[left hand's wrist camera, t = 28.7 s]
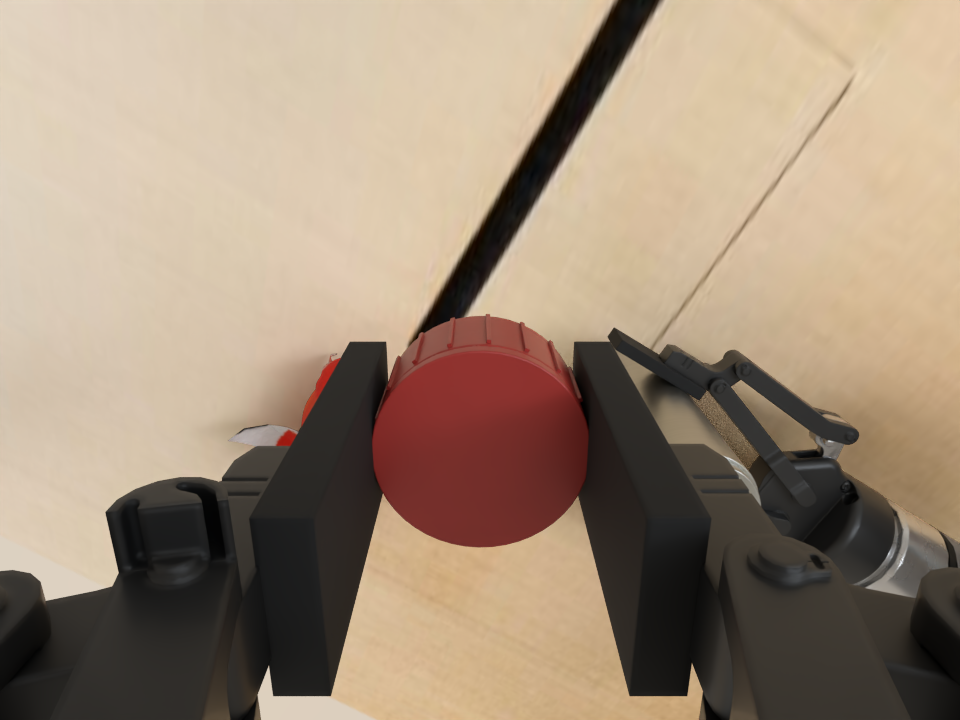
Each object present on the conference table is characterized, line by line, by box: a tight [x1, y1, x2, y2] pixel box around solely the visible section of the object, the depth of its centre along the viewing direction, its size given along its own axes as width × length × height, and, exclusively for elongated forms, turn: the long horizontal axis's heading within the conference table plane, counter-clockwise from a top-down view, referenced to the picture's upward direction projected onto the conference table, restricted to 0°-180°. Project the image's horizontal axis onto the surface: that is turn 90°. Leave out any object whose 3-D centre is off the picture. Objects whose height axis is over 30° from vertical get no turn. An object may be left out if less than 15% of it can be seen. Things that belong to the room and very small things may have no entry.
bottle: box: [614, 348, 761, 506], centre depth 40 cm, size 6×6×24 cm
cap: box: [372, 314, 589, 547], centre depth 13 cm, size 4×4×2 cm
